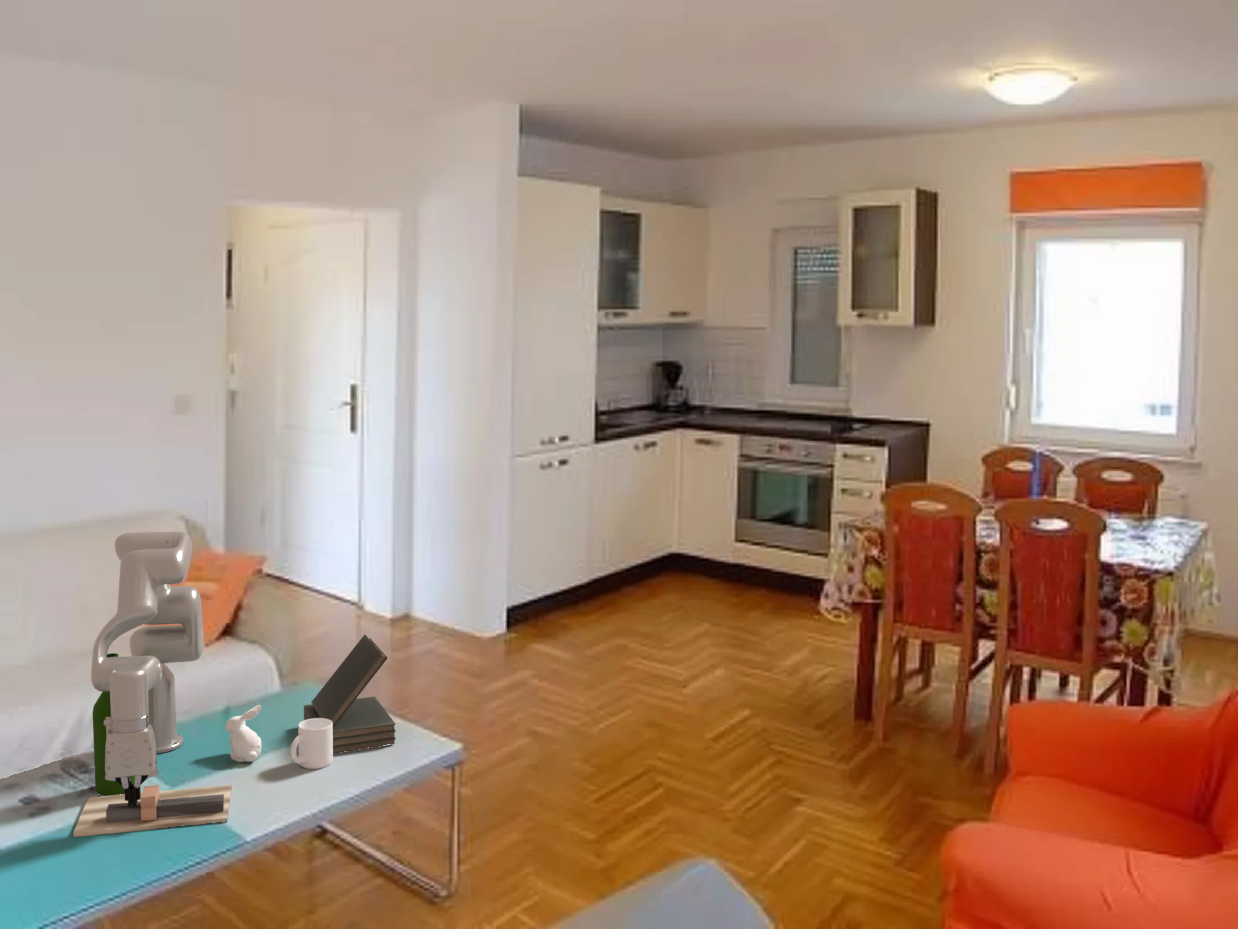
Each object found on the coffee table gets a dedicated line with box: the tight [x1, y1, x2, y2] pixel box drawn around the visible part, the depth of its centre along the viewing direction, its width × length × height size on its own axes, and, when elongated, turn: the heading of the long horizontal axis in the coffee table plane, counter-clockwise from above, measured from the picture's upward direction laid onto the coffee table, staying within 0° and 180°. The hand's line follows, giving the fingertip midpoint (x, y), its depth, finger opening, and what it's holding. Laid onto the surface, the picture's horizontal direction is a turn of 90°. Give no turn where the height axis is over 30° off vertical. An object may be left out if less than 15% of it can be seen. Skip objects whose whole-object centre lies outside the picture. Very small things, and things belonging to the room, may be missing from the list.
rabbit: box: [224, 704, 262, 763], centre depth 279 cm, size 12×9×12 cm
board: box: [72, 784, 233, 838], centre depth 248 cm, size 18×31×4 cm, turn 106°
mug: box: [290, 718, 334, 770], centre depth 275 cm, size 12×8×10 cm
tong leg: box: [107, 794, 224, 808], centre depth 246 cm, size 24×2×2 cm, turn 106°
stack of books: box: [303, 634, 397, 755], centre depth 294 cm, size 23×20×25 cm
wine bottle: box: [92, 652, 135, 796], centre depth 257 cm, size 9×9×32 cm
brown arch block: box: [141, 784, 160, 821], centre depth 244 cm, size 6×3×5 cm, turn 16°
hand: (133, 802), depth 243 cm, fingers closed
